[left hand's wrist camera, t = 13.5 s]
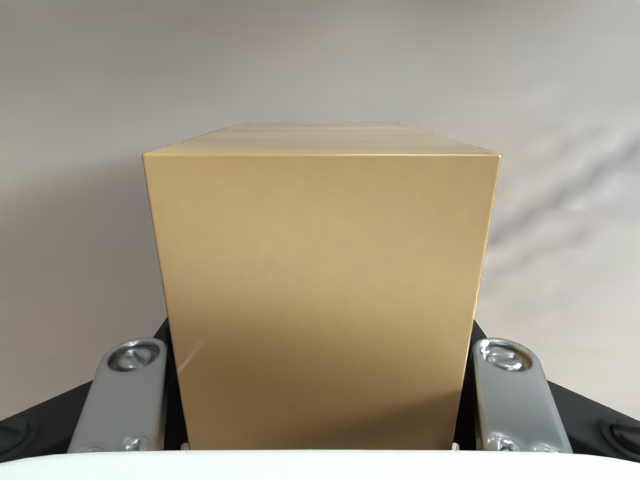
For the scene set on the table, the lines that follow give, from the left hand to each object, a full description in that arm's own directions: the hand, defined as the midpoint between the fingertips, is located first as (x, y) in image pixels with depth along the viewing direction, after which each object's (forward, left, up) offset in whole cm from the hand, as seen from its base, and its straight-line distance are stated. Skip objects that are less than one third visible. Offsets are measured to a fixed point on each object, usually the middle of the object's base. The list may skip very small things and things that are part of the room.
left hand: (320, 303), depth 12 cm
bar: (+21, +15, -2) cm, 26 cm away
